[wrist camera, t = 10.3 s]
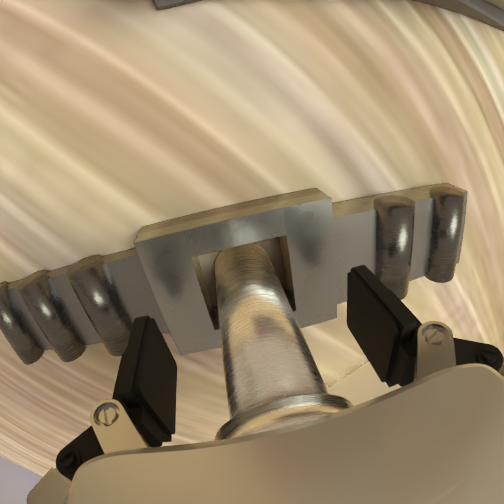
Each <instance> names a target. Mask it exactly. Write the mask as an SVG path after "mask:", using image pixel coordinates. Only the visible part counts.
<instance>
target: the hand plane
mask: <svg viewBox="0 0 504 504" xmlns="http://www.w3.org/2000/svg"><path fill="white" fill-rule="evenodd" d="M196 1H201V0H154V2H155V4H156V6H157V8H158V9H160V10H164V9H168V8H172V7H176V6H180V5H184V4H188V3H192V2H196ZM414 1H418V2H423V3H427V4H430V5H434V6H438V7H441V8H445V9H448V10H451V11H454V12H457V13H460V14H463V15H466V16H469V17H472V18H474V19H477V20H479V21H482V22H484V23H487V24H489V25H492V26H494V27H496V28H498V29H501V30H503V31H504V0H414Z"/></svg>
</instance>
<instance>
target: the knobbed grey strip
mask: <svg viewBox="0 0 504 504" xmlns="http://www.w3.org/2000/svg"><path fill="white" fill-rule="evenodd" d="M466 203H467V191H465V190H463V189H461V188H458V187H456V186H454V185H451V184H449V183H442V184H436V185H430V186H424V187H418V188H412V189H406V190H401V191H395V192H389V193H384V194H378V195H373V196H367V197H362V198H357V199H352V200H346V201H341V202H336V203H332V198H331V197H329V196H328V195H326V194H325V193H323V192H322V191H320V190H319V189H317V188H313V189H307V190H302V191H297V192H292V193H287V194H281V195H277V196H272V197H267V198H262V199H257V200H253V201H248V202H243V203H239V204H234V205H230V206H225V207H221V208H217V209H212V210H208V211H204V212H200V213H195V214H191V215H187V216H183V217H179V218H175V219H171V220H167V221H163V222H159V223H155V224H152V225H148V226H144V227H142V229H141V231H140V233H139V234H138V236H137V238H136V240H135V242H134V244H135V247H136V248H133V249H129V250H125V251H121V252H117V253H114V254H110V255H106V256H100V255H93V256H89V257H86V258H84V259H82V260H80V261H78V262H77V263H75V264H73V265H69V266H66V267H62V268H59V269H55V270H52V271H48V272H47V271H46V270H41V271H38V272H35V273H33V274H31V275H30V276H28V277H27V278H24V279H21V280H18V281H14V282H11V283H8V284H7V283H6V282H2V283H0V329H1V331H2V333H3V334H4V336H5V337H6V339H7V340H8V342H9V343H10V345H11V346H12V348H13V349H14V350H15V352H16V353H17V355H18V356H19V357H20V359H21V360H22V361H23V363H24V364H26V365H29V364H32V363H34V362H36V361H37V360H38V359H39V358H40V357H41V356H42V354H43V353H44V350H49V349H54V350H55V352H56V353H57V354H58V356H59V357H60V359H61V360H62V361H64V362H70V361H73V360H75V359H77V358H78V357H79V356H81V355H82V353H83V352H84V351H85V349H86V345H90V344H97V343H103V344H104V345H105V347H106V349H107V350H108V352H109V353H110V354H111V355H113V356H122V354H123V352H124V351H125V350H126V349H127V345H128V341H129V337H130V334H131V330H132V326H133V322H134V319H135V318H136V317H142V316H147V315H148V316H149V317H150V318H154V319H155V321H156V323H157V325H158V327H159V330H160V332H161V333H165V332H171V335H172V337H173V339H174V341H175V343H176V345H177V347H178V349H179V352H180V354H181V355H182V354H187V353H193V352H198V351H203V350H209V349H214V348H219V347H222V346H221V336H220V326H219V315H218V307H215V308H213V306H212V303H211V300H210V297H209V294H208V291H207V287H206V284H205V281H204V278H203V274H202V271H201V268H200V264H199V261H198V258H197V255H201V254H205V253H210V252H214V251H218V250H223V249H227V248H231V247H236V246H240V245H244V244H249V243H253V242H258V241H262V240H267V239H271V238H275V237H279V239H280V245H281V252H282V259H283V266H284V273H285V280H286V287H287V291H284V293H285V295H286V297H287V299H288V302H289V304H290V306H291V309H292V311H293V313H294V315H295V318H296V320H297V322H298V324H299V327H300V328H303V327H306V326H310V325H314V324H317V323H321V322H324V321H328V320H331V319H334V318H337V304H339V303H342V302H346V301H347V274H348V272H350V271H351V268H353V267H356V266H360V265H365V266H366V267H367V268H368V269H369V270H370V271H371V272H372V273H373V274H374V275H375V276H376V277H377V278H378V279H379V280H380V281H381V282H382V283H383V284H384V285H385V286H386V287H387V288H388V289H390V290H391V291H392V292H393V293H394V294H395V295H396V296H397V297H398V298H399V299H400V300H402V299H403V298H405V297H406V295H407V292H408V285H409V281H411V280H414V279H417V278H419V277H422V276H425V277H426V278H428V279H429V280H431V281H434V282H439V283H444V282H448V281H450V280H452V278H453V276H454V271H455V266H456V264H457V263H459V258H460V252H461V246H462V239H463V232H464V223H465V214H466Z"/></svg>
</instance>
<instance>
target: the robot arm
mask: <svg viewBox="0 0 504 504" xmlns="http://www.w3.org/2000/svg"><path fill="white" fill-rule="evenodd" d="M347 325H348V328H349V330H350V331H351V333H352V334H353V336H354V338H355V339H356V341H357V342H358V344H359V346H360V347H361V349H362V350H363V352H364V354H365V355H366V357H367V359H368V360H369V362H370V364H371V365H372V367H373V369H374V370H375V372H376V374H377V375H378V377H379V379H380V380H381V382H383V383H384V382H386V383H387V385H388V387H389V388H390V387H392V386H395V385H397V384H399V386H402V387H401V388H398V389H396V390H393V391H391V392H389V393H386V394H384V395H381V396H379V397H376V398H374V399H371V400H369V401H366V402H363V403H361V404H358V405H355V406H352V407H350V408H347V409H344V410H341V411H338V412H335V413H332V414H329V415H325V416H322V417H319V418H316V419H312V420H309V421H305V422H302V423H298V424H294V425H290V426H287V427H283V428H278V429H274V430H270V431H265V432H261V433H256V434H251V435H246V436H240V437H235V438H229V439H223V440H216V441H209V442H202V443H193V444H184V445H174V446H163V447H160V446H161V445H162V442H170V441H171V434H174V433H175V415H176V383H177V365H176V362H175V360H174V358H173V356H172V354H171V352H170V350H169V348H168V346H167V344H166V342H165V340H164V338H163V336H162V334H161V332H160V330H159V327H158V325H157V323H156V321H155V319H154V318H150V317H149V316H148V315H147V316H142V317H136V318H135V319H134V322H133V326H132V330H131V334H130V337H129V341H128V345H127V349H126V350H125V351H124V352H123V354H122V358H121V362H120V366H119V371H118V375H117V379H116V383H115V388H114V393H113V397H112V399H106V400H103V401H101V402H99V403H98V404H97V405H96V406H95V407H94V408H93V409H92V411H91V414H90V421H91V425H92V426H90V427H89V428H88V429H87V430H85V431H84V432H83V433H82V434H80V435H79V436H78V437H77V438H75V439H74V440H73V441H72V442H71V443H69V444H68V445H67V446H65V447H64V448H63V449H62V450H61V451H60V452H59V454H58V455H57V458H56V468H55V469H53V468H51V469H50V470H49V471H48V472H47V473H46V475H45V476H44V477H43V478H42V479H41V480H40V481H39V483H38V484H37V485H36V486H35V487H34V488H33V489H32V490H31V491H30V492H29V494H28V496H27V504H504V357H503V355H502V353H501V352H500V350H499V349H498V348H496V347H495V346H493V345H490V344H484V343H479V342H473V341H468V340H463V339H458V338H453V334H452V331H451V329H450V328H449V327H448V326H447V325H445V324H444V323H441V322H437V321H429V322H426V323H424V324H421V322H420V321H419V320H418V319H417V318H416V317H415V316H414V315H413V313H412V312H411V311H410V310H409V309H408V308H407V307H406V306H405V305H404V304H403V303H402V301H401V300H400V299H399V298H398V297H397V296H396V295H395V294H394V293H393V292H392V291H391V290H390V289H388V288H387V287H386V286H385V285H384V284H383V283H382V282H381V281H380V280H379V279H378V278H377V277H376V276H375V275H374V274H373V273H372V272H371V271H370V270H369V269H368V268H367V267H366V266H365V265H360V266H356V267H353V268H351V271H350V272H348V274H347Z"/></svg>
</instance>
